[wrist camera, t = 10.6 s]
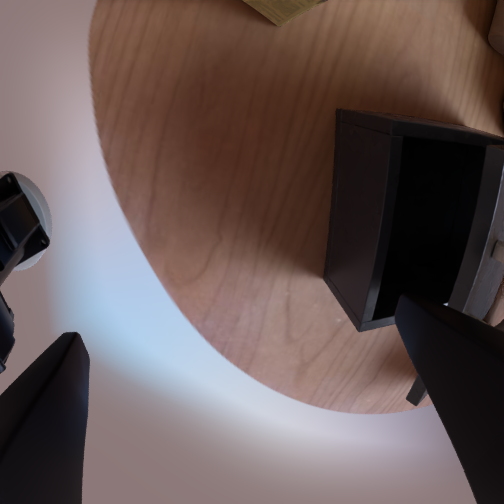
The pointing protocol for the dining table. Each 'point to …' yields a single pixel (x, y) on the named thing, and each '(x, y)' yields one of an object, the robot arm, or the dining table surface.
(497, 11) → the wooden block set
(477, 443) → the robot arm
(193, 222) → the dining table surface
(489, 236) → the bin lid
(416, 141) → the bin
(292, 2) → the candy box
